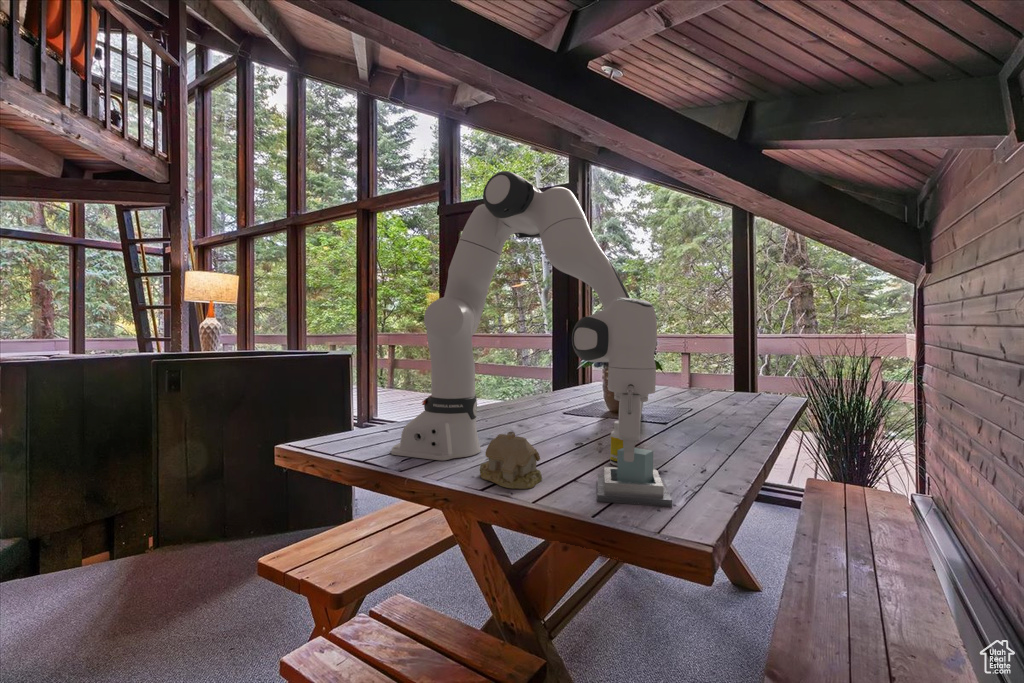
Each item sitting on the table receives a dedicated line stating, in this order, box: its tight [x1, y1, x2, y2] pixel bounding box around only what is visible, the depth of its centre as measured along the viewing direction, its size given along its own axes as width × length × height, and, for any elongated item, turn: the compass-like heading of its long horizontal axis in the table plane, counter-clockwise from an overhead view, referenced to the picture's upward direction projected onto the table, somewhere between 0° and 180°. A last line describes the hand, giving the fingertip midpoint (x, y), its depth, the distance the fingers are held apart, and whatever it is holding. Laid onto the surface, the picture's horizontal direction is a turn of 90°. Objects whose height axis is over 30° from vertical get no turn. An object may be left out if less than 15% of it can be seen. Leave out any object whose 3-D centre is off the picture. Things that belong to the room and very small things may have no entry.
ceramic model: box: [479, 431, 543, 490], centre depth 101 cm, size 14×11×10 cm
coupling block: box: [616, 447, 654, 483], centre depth 92 cm, size 4×6×7 cm
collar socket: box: [596, 466, 673, 508], centre depth 93 cm, size 13×13×3 cm
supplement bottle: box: [609, 420, 623, 467], centre depth 113 cm, size 5×5×10 cm
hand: (629, 454), depth 92 cm, fingers open, 8 cm apart
